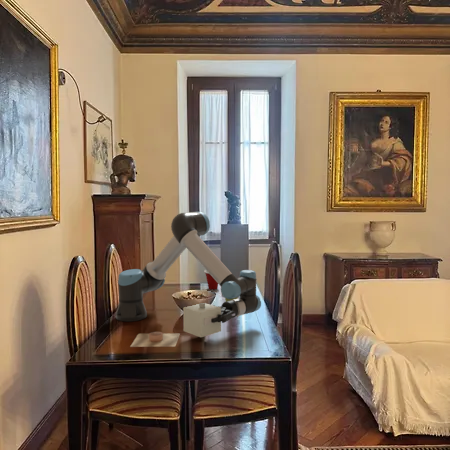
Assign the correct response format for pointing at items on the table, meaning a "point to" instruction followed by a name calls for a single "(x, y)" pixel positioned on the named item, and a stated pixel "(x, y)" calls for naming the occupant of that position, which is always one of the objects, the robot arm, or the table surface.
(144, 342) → the maple board
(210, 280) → the plastic cup
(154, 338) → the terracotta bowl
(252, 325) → the table surface
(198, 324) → the white cube
